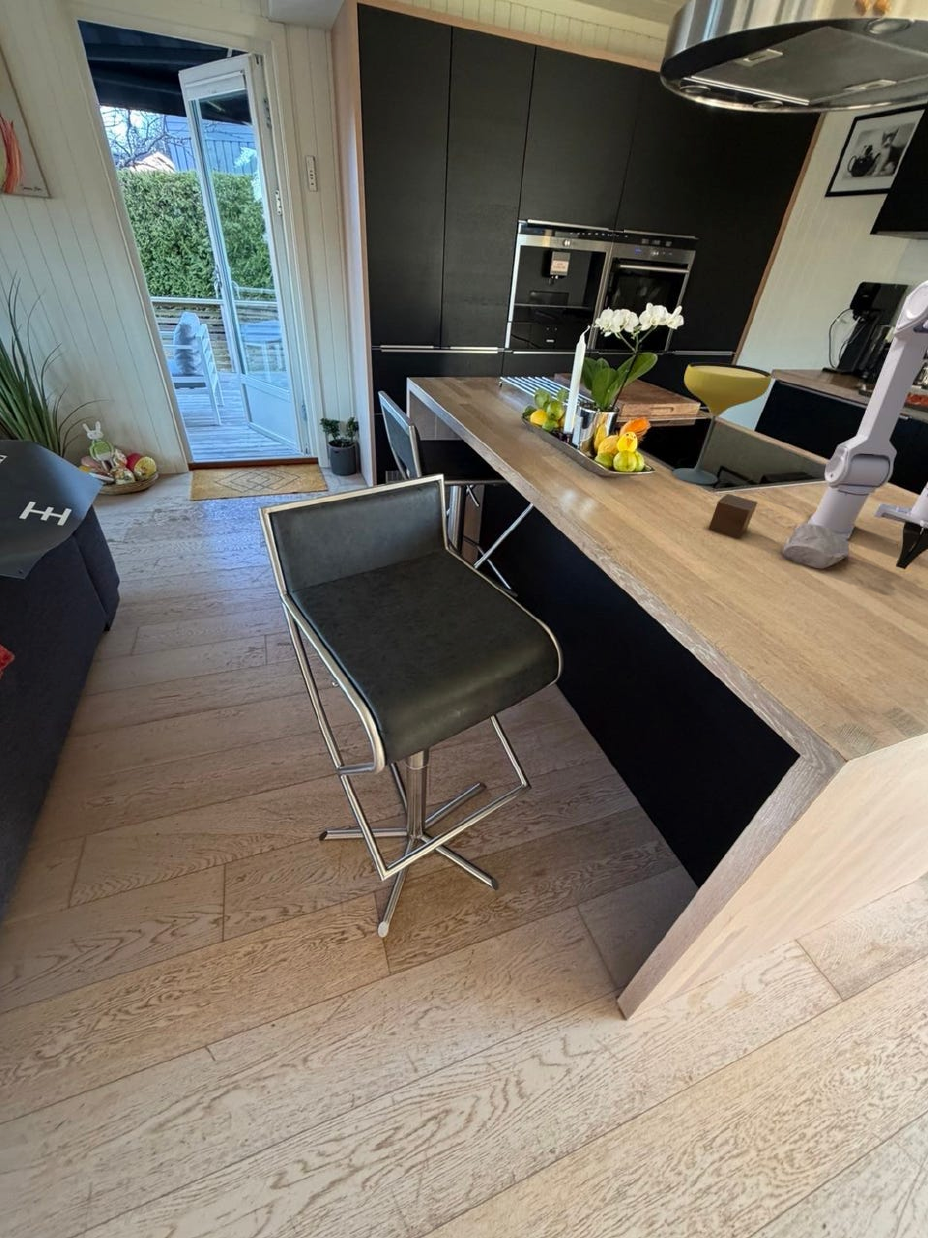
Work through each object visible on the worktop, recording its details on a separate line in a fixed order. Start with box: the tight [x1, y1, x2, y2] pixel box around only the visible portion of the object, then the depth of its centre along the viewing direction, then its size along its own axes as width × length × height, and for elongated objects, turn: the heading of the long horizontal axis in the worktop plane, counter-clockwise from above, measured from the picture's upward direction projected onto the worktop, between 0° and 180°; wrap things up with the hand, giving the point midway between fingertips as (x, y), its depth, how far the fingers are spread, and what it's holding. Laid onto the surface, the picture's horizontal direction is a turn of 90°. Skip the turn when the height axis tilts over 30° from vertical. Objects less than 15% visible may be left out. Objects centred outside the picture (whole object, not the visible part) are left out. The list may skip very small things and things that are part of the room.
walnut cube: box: [708, 493, 758, 539], centre depth 105 cm, size 6×6×6 cm
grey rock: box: [781, 522, 850, 570], centre depth 98 cm, size 12×5×10 cm
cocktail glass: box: [672, 361, 773, 486], centre depth 125 cm, size 18×18×25 cm
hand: (900, 565), depth 91 cm, fingers closed
